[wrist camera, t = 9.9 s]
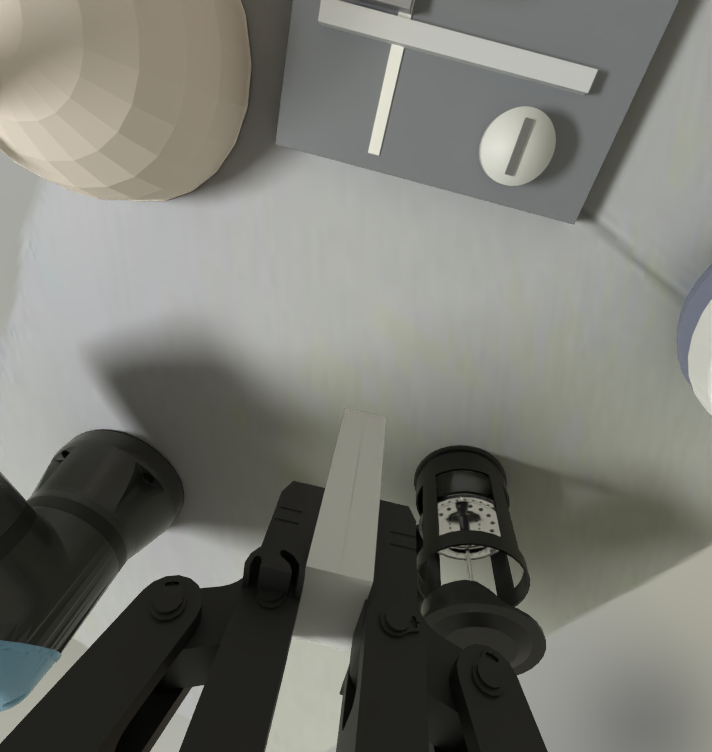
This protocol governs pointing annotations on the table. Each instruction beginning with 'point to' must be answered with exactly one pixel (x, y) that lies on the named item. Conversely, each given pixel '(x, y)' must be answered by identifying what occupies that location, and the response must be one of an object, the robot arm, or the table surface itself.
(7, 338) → the table surface
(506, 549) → the french press
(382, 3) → the fader tab
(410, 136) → the console board
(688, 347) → the bowl
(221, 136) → the kettle
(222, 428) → the table surface
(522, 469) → the table surface
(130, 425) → the table surface
